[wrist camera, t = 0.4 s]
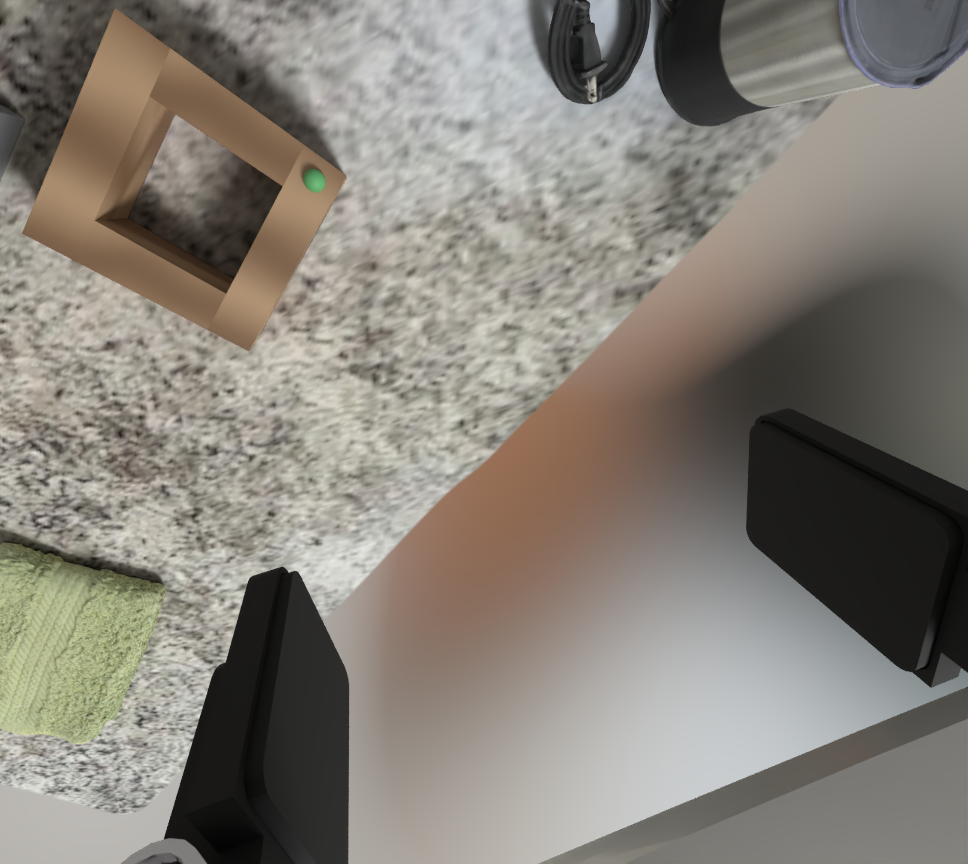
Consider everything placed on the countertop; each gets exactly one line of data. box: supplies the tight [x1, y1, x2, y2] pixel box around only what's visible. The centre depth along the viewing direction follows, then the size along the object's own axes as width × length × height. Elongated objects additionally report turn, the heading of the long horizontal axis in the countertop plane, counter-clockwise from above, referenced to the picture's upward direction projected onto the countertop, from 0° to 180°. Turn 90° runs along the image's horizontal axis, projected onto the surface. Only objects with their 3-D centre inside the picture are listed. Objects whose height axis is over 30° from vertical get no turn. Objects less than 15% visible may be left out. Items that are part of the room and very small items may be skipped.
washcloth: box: [0, 543, 167, 744], centre depth 40 cm, size 13×18×3 cm
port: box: [22, 9, 347, 351], centre depth 29 cm, size 12×12×5 cm
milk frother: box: [548, 0, 968, 126], centre depth 28 cm, size 14×16×15 cm
